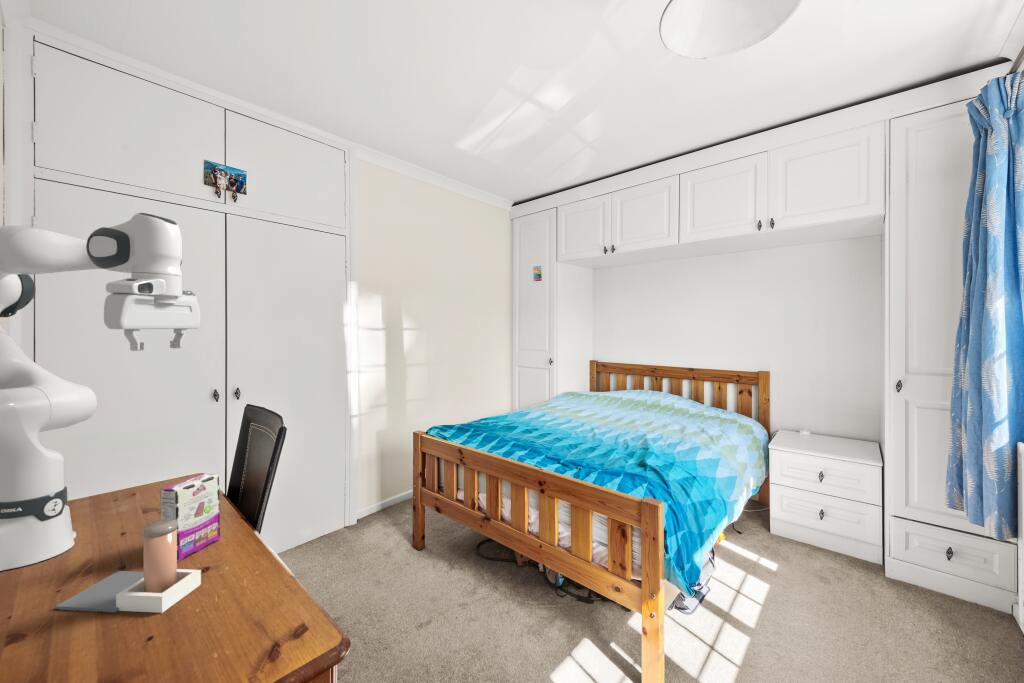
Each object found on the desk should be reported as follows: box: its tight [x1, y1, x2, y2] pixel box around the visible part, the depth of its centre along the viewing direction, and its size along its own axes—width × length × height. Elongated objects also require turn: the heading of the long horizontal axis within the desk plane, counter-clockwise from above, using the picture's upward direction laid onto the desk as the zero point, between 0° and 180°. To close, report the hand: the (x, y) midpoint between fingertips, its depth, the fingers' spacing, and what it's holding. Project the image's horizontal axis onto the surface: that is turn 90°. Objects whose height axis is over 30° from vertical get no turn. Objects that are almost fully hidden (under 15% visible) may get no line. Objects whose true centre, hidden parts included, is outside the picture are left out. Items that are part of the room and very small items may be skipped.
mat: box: [54, 570, 144, 613], centre depth 85 cm, size 12×12×1 cm
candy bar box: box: [160, 473, 221, 563], centre depth 102 cm, size 11×5×16 cm, turn 168°
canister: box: [142, 520, 178, 593], centre depth 83 cm, size 5×5×14 cm
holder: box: [116, 568, 202, 614], centre depth 83 cm, size 9×9×3 cm
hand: (157, 349), depth 96 cm, fingers open, 8 cm apart
